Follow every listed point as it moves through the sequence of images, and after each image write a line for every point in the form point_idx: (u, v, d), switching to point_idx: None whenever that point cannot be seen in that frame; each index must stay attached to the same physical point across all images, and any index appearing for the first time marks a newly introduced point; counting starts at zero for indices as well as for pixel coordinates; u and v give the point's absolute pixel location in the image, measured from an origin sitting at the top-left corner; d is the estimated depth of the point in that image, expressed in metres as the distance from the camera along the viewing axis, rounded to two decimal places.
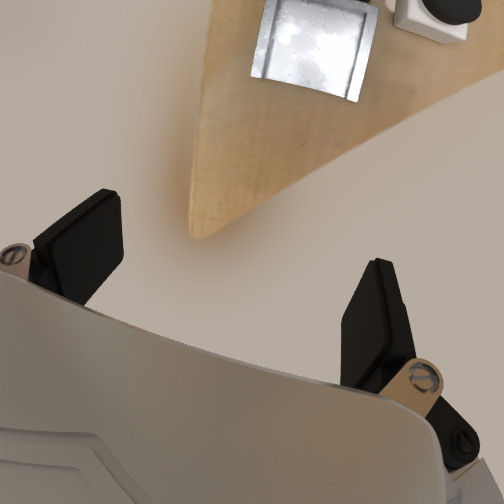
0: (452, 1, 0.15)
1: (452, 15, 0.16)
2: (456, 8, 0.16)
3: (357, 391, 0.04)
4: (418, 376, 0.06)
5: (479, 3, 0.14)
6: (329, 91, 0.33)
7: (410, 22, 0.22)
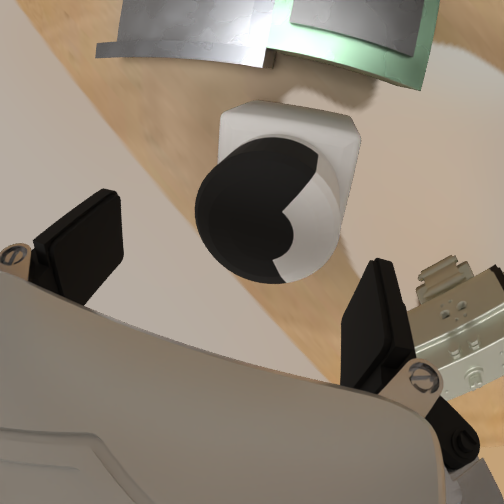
0: (229, 213, 0.12)
1: (199, 208, 0.12)
2: (215, 221, 0.12)
3: (357, 391, 0.04)
4: (418, 376, 0.06)
5: (259, 279, 0.14)
6: (122, 20, 0.17)
7: None
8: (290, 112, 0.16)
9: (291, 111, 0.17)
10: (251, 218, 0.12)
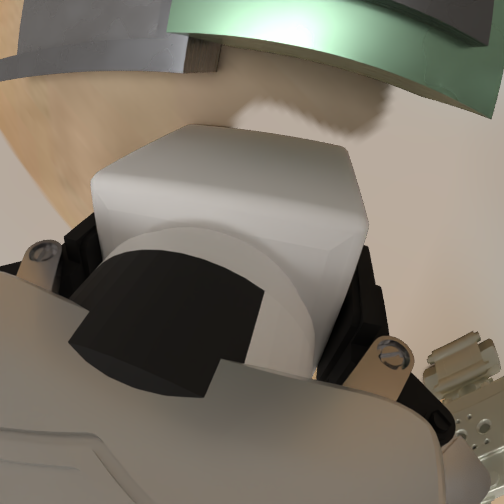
0: None
1: None
2: None
3: (357, 391, 0.04)
4: (387, 353, 0.07)
5: None
6: (22, 25, 0.10)
7: None
8: (231, 155, 0.09)
9: (235, 151, 0.09)
10: None
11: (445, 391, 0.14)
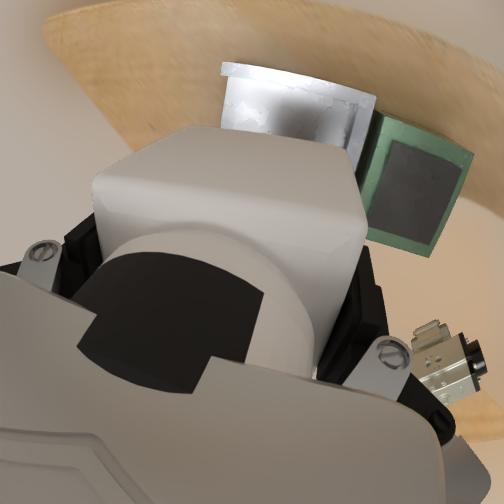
0: None
1: None
2: None
3: (357, 391, 0.04)
4: (387, 353, 0.07)
5: None
6: None
7: None
8: (231, 156, 0.09)
9: (235, 152, 0.09)
10: None
11: (422, 347, 0.33)
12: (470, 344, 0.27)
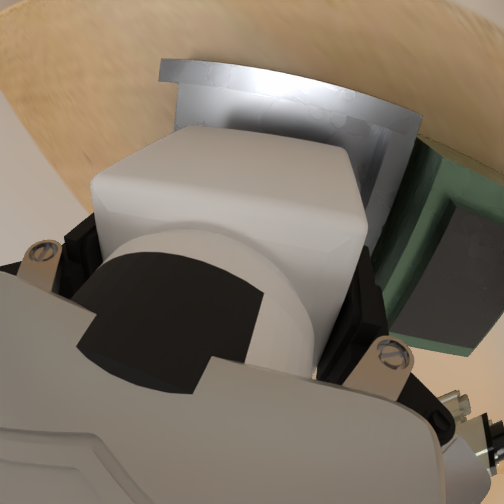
0: None
1: None
2: None
3: (357, 391, 0.04)
4: (387, 353, 0.07)
5: None
6: None
7: None
8: (230, 156, 0.09)
9: (235, 152, 0.09)
10: None
11: None
12: (494, 428, 0.18)
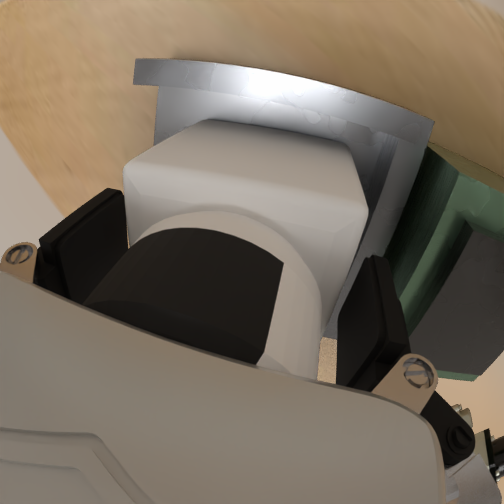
0: None
1: None
2: None
3: (357, 391, 0.04)
4: (412, 371, 0.06)
5: None
6: None
7: None
8: (248, 149, 0.10)
9: (251, 146, 0.10)
10: None
11: None
12: (496, 444, 0.17)
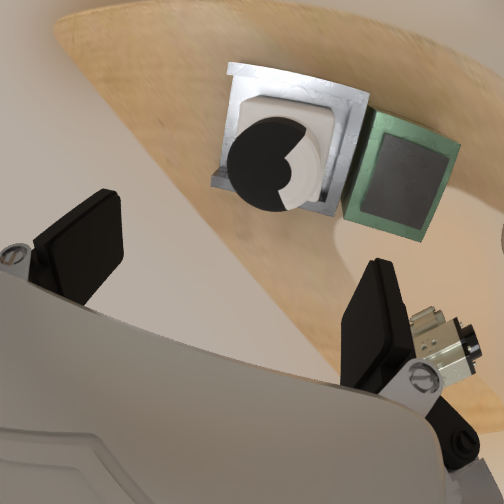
0: (251, 159, 0.18)
1: (231, 158, 0.19)
2: (242, 165, 0.19)
3: (357, 391, 0.04)
4: (418, 376, 0.06)
5: (268, 207, 0.20)
6: (223, 150, 0.30)
7: None
8: (287, 103, 0.23)
9: (287, 102, 0.23)
10: (265, 162, 0.18)
11: (418, 333, 0.35)
12: (464, 328, 0.29)
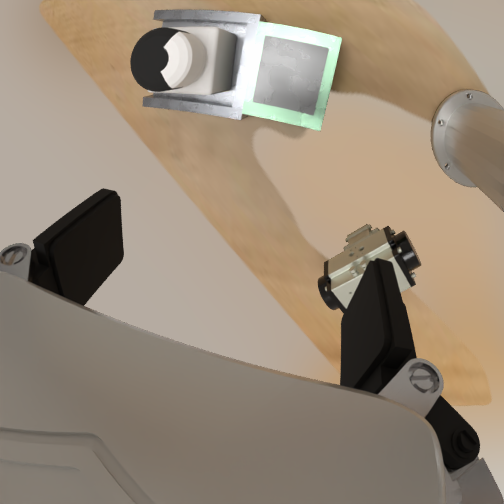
0: (143, 53, 0.21)
1: (131, 57, 0.21)
2: (137, 59, 0.21)
3: (357, 391, 0.04)
4: (418, 376, 0.06)
5: (156, 86, 0.23)
6: None
7: None
8: None
9: None
10: (151, 53, 0.21)
11: None
12: None
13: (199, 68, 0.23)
